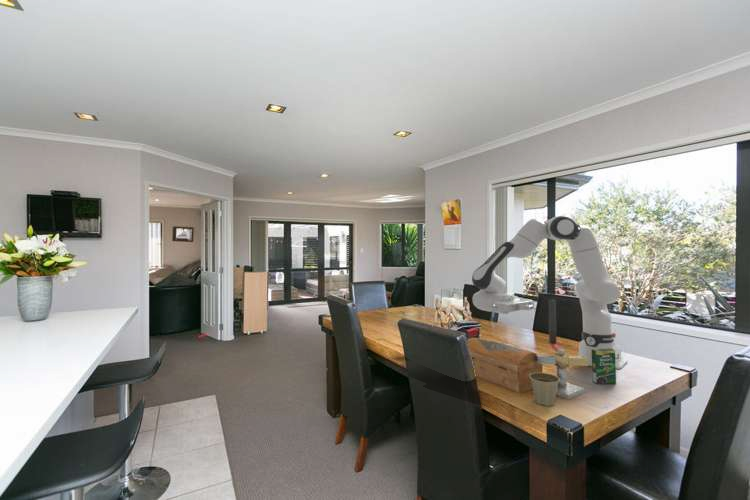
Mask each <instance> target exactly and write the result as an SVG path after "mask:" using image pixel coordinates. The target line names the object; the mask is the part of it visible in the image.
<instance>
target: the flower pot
mask: <svg viewBox="0 0 750 500" xmlns="http://www.w3.org/2000/svg"><path fill="white" fill-rule="evenodd" d="M529 377H530V379H531V382H532V386H533V389H532V391H533V398H534V402H535V403H537V404H538V405H540V406H541V405H544V406H545V407H553V406H554V405H555V404H556V398H557V395H556V390H557V385H558V382H559V381H560V379H559V378H558V377H557V375H554V374H551V373H546V372H542V373H532V374H530V375H529Z"/></svg>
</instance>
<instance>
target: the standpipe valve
mask: <svg viewBox="0 0 750 500" xmlns="http://www.w3.org/2000/svg"><path fill="white" fill-rule="evenodd" d="M536 362H537V363H539V364H542V365H543V364H544V365H554V366H555V367H556V376H557V377H558V378H559V379H560V381H559V382H558V385H557V390H556V396H558V397H561V398H564V399H567V400H570V399H573V398H575V397H577V396H580V395H581V394H584V393H586V387H583V386H579V385H576V384H572V383H570V382H568V381H567V368H569V367H570V366H581V367H582V366H583V367H589V365H588V358H586V357H580V356H579V355H569V354H566V353H565V355H558V352H555V353H553V354H552V355H551V354H537V353H536Z"/></svg>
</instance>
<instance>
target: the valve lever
mask: <svg viewBox="0 0 750 500" xmlns="http://www.w3.org/2000/svg"><path fill="white" fill-rule="evenodd" d="M556 301H557V300H555V299H548V343H549V345H550V347H551V348H553V350H554V351H555V353H558V355H565V354H566V350H565V349H563V348H562V347H560V346H559V345H558V344H557V302H556Z"/></svg>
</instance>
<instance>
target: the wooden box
mask: <svg viewBox="0 0 750 500" xmlns="http://www.w3.org/2000/svg"><path fill="white" fill-rule="evenodd" d="M467 339H468V344H469V349H470V352H471V357H472V361H473V366H474V370H475V375H476V377H475V378H477V379H479V380H482V381H484V382H487V383H490V384H493V385H495V386H497V387H500V388H503V389H506V390H509V391H511V392H514V393H516V394H521V393H522V394H523V393H525V392H527V391H531V390H533V386H532V382H531V379H530V377H529V375H530V374H532V373H543V364H539V363H537V362H536V354H537V353H536V352H535V351H534V352H533V351H531V350H527V349H524V348H523V349H522V348H519V347H515V346H512V345H509V344H505V343H504V344H503V343H500V342H497V341H491V340H487V339H482V338H479V337H470V338H467Z"/></svg>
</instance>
